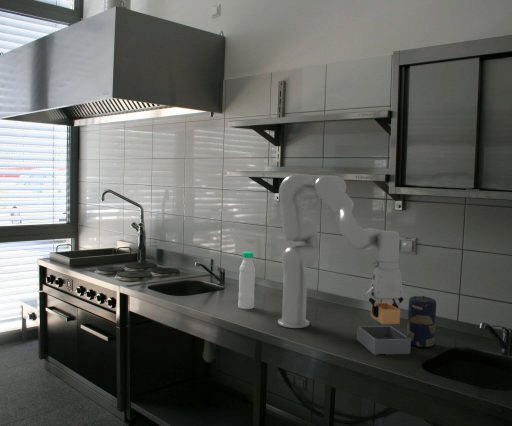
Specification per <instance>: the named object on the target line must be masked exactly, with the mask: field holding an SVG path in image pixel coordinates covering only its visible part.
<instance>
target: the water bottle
mask: <svg viewBox="0 0 512 426" xmlns="http://www.w3.org/2000/svg"><path fill="white" fill-rule="evenodd" d="M253 257H254V252H252V251H243V252H242V262H241V264H240V266H239V268H238V269H239V275H238V277H239V278H238V303H237V307H238V308H239V309H240V310H252V309H253V308H254V307H255V285H256V273H255V272H256V266H255V264H254V261H253V259H254V258H253Z"/></svg>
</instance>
